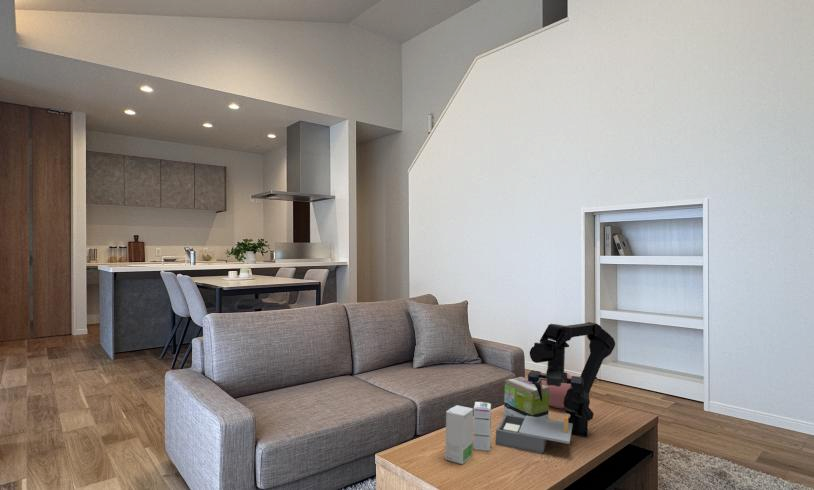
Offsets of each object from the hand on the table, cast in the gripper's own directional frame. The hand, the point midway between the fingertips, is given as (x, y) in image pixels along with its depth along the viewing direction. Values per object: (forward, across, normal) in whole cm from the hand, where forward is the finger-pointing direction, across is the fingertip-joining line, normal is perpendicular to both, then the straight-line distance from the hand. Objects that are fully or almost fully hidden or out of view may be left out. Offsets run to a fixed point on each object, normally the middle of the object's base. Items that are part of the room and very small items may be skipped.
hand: (554, 402), depth 164 cm
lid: (+8, -2, -6) cm, 10 cm away
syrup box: (+13, -22, -18) cm, 31 cm away
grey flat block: (+13, -10, -6) cm, 17 cm away
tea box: (+13, -12, +14) cm, 23 cm away
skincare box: (+13, -27, -29) cm, 42 cm away
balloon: (+13, +1, +33) cm, 36 cm away
